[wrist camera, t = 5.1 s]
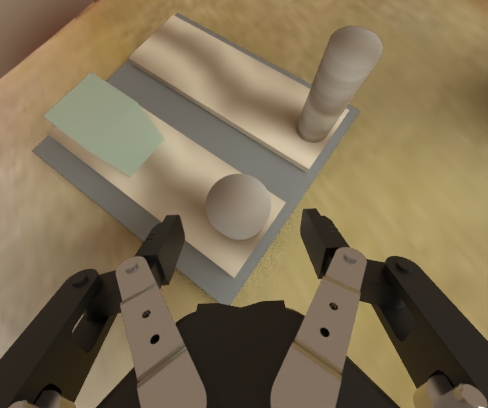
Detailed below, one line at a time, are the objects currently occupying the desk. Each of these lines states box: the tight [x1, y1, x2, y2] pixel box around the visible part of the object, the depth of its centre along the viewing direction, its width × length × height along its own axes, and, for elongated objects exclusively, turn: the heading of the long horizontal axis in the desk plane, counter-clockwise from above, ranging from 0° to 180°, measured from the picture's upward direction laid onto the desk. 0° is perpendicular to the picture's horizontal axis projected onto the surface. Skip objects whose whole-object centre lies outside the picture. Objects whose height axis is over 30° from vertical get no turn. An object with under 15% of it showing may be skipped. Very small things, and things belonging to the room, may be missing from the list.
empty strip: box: [128, 15, 383, 173], centre depth 17 cm, size 8×24×9 cm, turn 54°
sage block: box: [43, 72, 165, 177], centre depth 17 cm, size 5×5×5 cm
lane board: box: [32, 13, 360, 305], centre depth 21 cm, size 24×26×1 cm
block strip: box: [47, 106, 286, 278], centre depth 15 cm, size 8×24×9 cm, turn 54°
